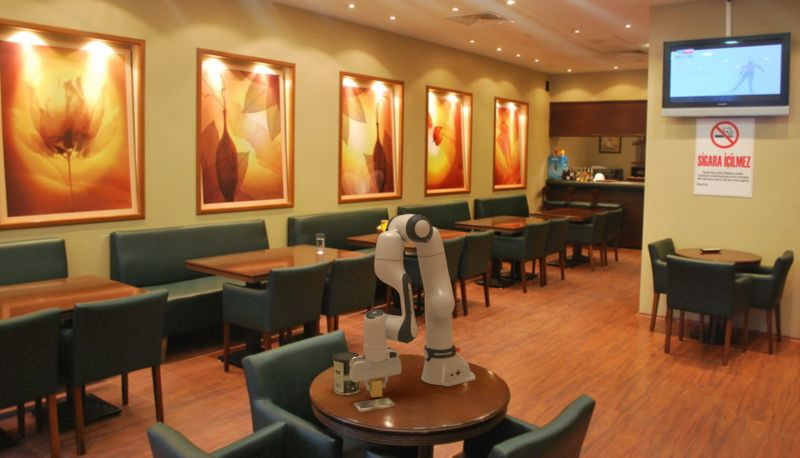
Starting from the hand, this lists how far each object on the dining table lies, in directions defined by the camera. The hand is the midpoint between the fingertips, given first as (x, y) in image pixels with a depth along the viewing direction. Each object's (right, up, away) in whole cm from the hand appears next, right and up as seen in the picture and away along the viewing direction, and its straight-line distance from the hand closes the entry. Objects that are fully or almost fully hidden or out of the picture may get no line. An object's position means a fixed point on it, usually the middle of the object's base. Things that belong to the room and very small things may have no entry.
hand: (375, 388), depth 247 cm
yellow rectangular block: (0, -2, 0) cm, 2 cm away
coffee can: (-12, -3, +9) cm, 16 cm away
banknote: (0, -5, -6) cm, 8 cm away
